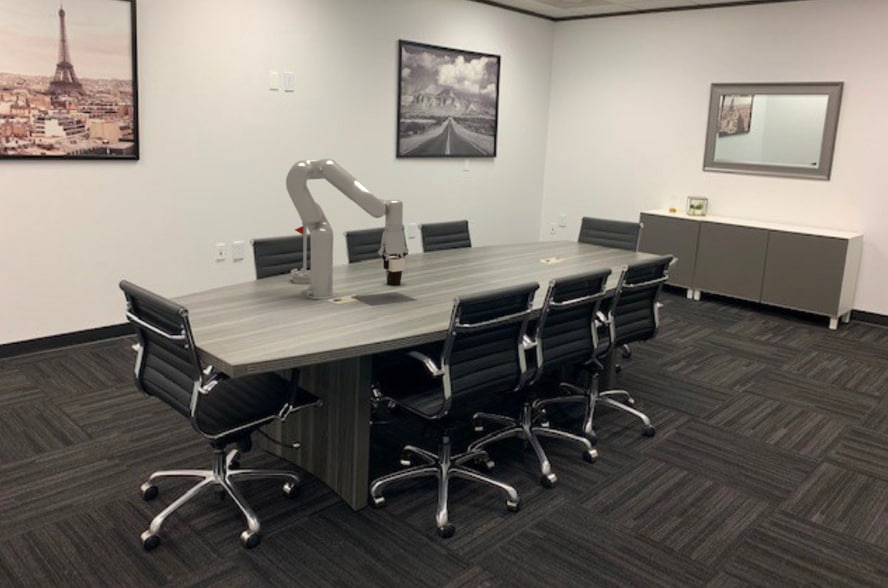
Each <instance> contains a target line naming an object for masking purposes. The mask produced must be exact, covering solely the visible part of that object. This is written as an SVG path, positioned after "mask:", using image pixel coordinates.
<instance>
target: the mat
mask: <svg viewBox="0 0 888 588" xmlns="http://www.w3.org/2000/svg"><path fill="white" fill-rule="evenodd" d="M350 298H351V299H353V300H357V301H358V302H362V303H364V304H367V305H368V306H371V307H374V306H375V307H376V306H382V305H384V306H385V305H390V304H400V303H407V302H415V301H416V302H417V299H416V298H413V297H411V296H408V295H405V294H402V293H400V292H397V291H391V292H384V293H376V294H365V295H357V296H350Z"/></svg>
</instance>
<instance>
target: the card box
mask: <svg viewBox="0 0 888 588" xmlns="http://www.w3.org/2000/svg"><path fill="white" fill-rule="evenodd" d="M388 261H389V269H388V271H392V272H396V271H402V272H403V271H406V259H405V258H404V259H402V258H399V257H398V256H395V255H393V256H391V255H390V256H389V258H388ZM383 263H384V260H383V259H382V258H381V269H382V270H385V271H386V270H387V269H384V266H383Z"/></svg>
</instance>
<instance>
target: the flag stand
mask: <svg viewBox="0 0 888 588" xmlns="http://www.w3.org/2000/svg"><path fill="white" fill-rule="evenodd" d="M301 225H302V226H299V227H297V228H295V229H294V231H295V232H297V233H299V234H300V235H303V236H302V237H303V240H302V241H303V243H302V244H303V245H302V247H303V251H302V252H303V253H302V254H303V255H302V256H303V257H302V259H303V261H302V262H303V263H302V267H303V268H300V270H298V268H293V269H292V270H290V276H291V277H292V279H293V280H292V281H293V283H294V284H298V285H299V284H300V285H311V268H310V269H309V270H307V253H308V252H307V247H308V245H307V241H308V239H307V236H308V235H307V234H308V228H307V226H306V224H305V223H304V222H303V221H302V220H301Z"/></svg>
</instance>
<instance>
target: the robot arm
mask: <svg viewBox="0 0 888 588" xmlns="http://www.w3.org/2000/svg"><path fill="white" fill-rule="evenodd" d="M322 179H323V180H325V181H327V182H328V183H329V184H331V185H332V187H334V188H335V189H336V190H338V191H339V192H341V193H342V194H343V195H344V196H345V197H347V198H348V199H349V200H351V202H354V203H355V204H356V205H357V206H358V207H359V208H361V209H362V210H363V211H365V212H366V213H367V214H368V215H370V216H371V217H372V218H376V219H380V218H382V217H384V216H385V221H384V222H385V223H384V227H385V228H384V231H383V232H382V235H381V237H382V238H381V243H380V244H381V246H380V248H379V250H378V251H377V255H379V257H380V258H381V260H382V259H383V260H384V263H383V266H384V269H383V270H385V269H387V270H388V269H389V261H388V258H389V257H391V255H397V257H398V258H402V259H405V256H407V254H408V253H409V251H410V250H409V248H408V247H407V246H406V244H405V243H406V242H405V240H406V239H405V234H404V233H405V232H404V231H403V229H405V224H403V211H404V209H403V207H404V203H403V201H402V200H401V199H382V198H377V196H376V195H374V194H373V193H371V192H370V191H369V190H368V189H367V188H365V187H364V185H363V184H362V183H361V181H359V180H358V179H357V177H355V176H353V174H351V173H349V172H348V171H347V170H346V169H344V168H343V167H342V166H341V165H340V164H339V163H337V161H335V160H334V159H332V158H324V159H323V158H322V159H308V160H307V159H303V160H302V159H301V160H298V161H296V162H295V163H294V164H293V165H292V166H291V168H290V169H289V171H288V173H287V175H286V179H285V186H286V191H287V193H288V195H289V198H290V200H291V202H292V204H293V205H294V208H295V209H296V212H297V213H298V215H299V218H300V220H301V222H302V221H303V222H304V223H305V224H306V226H307V231H309V233H310V269H311V284H310V286H309V285H308V287H307V288H305V289H299V292H300V294H301V295H306V297H307V298H308V299H312V300H328V299H332V298H333V299H334V298H336V297H337V294H336V293H335V292H333V282H334V281H333V279H334V278H333V272H334V269H333V268H334V263H333V262H334V230H333V228H332V226H331V224H330V222H329V220H328V219H327V218H328V217H326V215H325V214H326V213H324V211H323V209H322V207H321V205H320V204H319V203H318V202H316V201H315V199H314V197H313V196H312V193H311V192H310V189H309V187H308V184H307V183H308V180H322Z"/></svg>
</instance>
